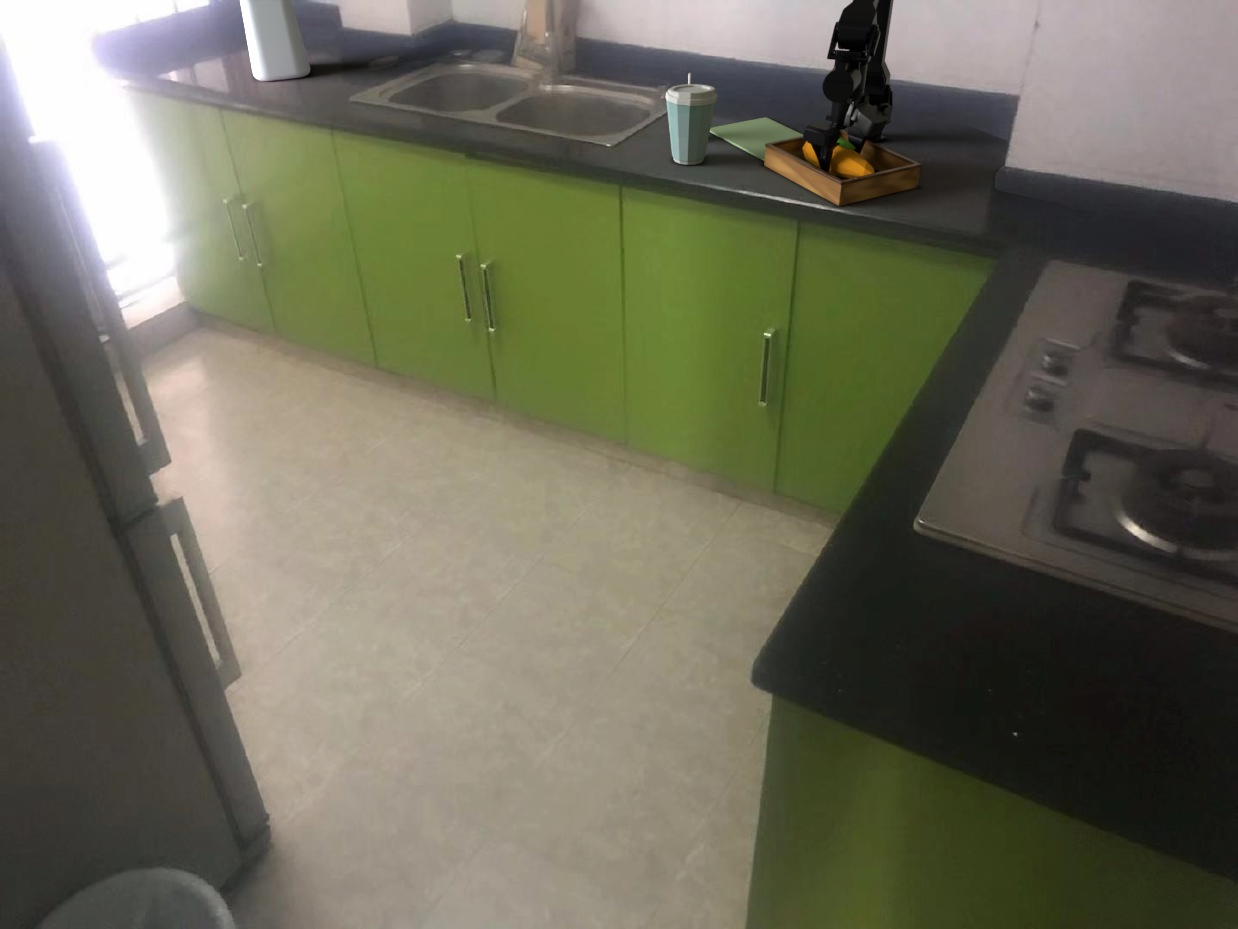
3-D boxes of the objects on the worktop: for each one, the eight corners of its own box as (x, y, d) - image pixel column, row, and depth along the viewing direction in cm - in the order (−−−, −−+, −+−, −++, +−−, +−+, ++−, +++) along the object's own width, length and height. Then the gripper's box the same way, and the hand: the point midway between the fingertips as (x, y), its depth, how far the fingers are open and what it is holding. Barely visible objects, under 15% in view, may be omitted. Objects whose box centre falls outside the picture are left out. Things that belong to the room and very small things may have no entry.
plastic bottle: (312, 77, 258) (288, -38, 241) (254, 83, 254) (226, -33, 237) (308, 63, 269) (285, -47, 252) (253, 69, 266) (226, -43, 249)
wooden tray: (838, 149, 203) (840, 127, 201) (918, 187, 185) (922, 163, 183) (763, 165, 197) (764, 143, 194) (838, 206, 179) (841, 182, 176)
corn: (823, 120, 195) (891, 148, 181) (821, 157, 199) (887, 186, 186) (794, 130, 192) (861, 158, 178) (793, 166, 197) (858, 197, 183)
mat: (765, 119, 221) (765, 116, 221) (828, 149, 204) (829, 146, 203) (706, 130, 215) (706, 128, 215) (766, 162, 198) (766, 160, 198)
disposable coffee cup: (656, 156, 203) (656, 83, 194) (700, 148, 206) (703, 76, 197) (677, 171, 195) (679, 96, 186) (724, 163, 198) (727, 89, 189)
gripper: (853, 107, 171) (843, 191, 180) (913, 85, 181) (900, 166, 190) (805, 94, 178) (797, 176, 187) (865, 74, 187) (855, 153, 197)
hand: (839, 168), depth 190 cm, fingers open, 9 cm apart
